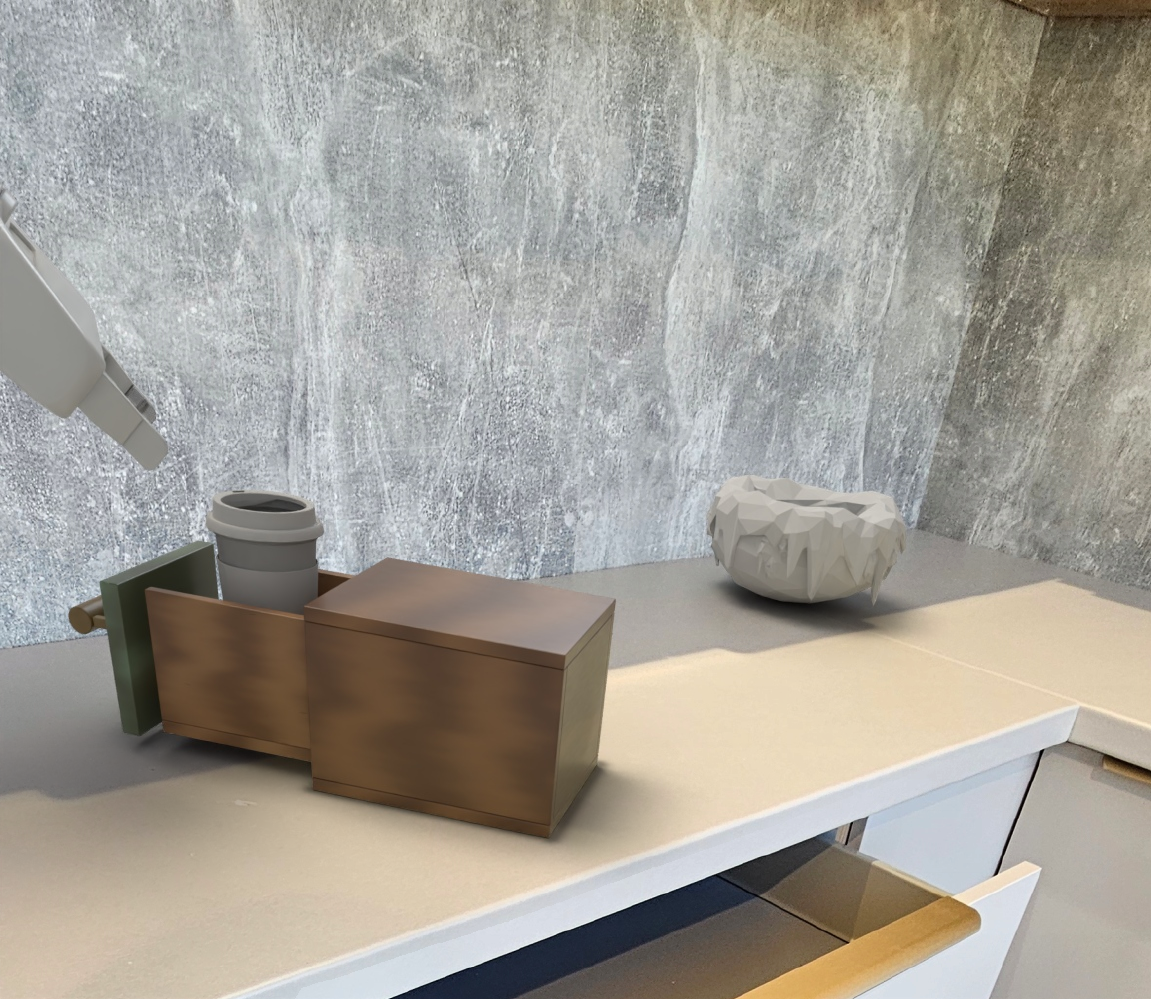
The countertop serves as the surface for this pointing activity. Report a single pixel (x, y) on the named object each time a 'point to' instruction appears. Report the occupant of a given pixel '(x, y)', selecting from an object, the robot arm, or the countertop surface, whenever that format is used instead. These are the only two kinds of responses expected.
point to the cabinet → (457, 693)
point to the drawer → (203, 655)
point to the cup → (266, 548)
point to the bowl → (804, 538)
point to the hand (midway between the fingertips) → (154, 440)
